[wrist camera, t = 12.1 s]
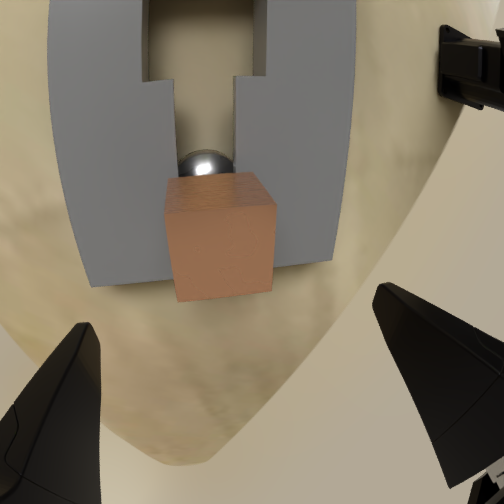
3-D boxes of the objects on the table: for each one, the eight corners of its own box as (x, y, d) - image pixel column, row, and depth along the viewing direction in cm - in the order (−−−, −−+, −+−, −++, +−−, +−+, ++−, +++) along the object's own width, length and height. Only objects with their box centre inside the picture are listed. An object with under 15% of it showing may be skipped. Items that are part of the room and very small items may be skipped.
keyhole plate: (69, -5, 10) (51, -17, 7) (331, -13, 13) (355, -23, 10) (99, 261, 19) (91, 287, 17) (315, 238, 22) (331, 260, 20)
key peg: (240, 147, 18) (282, 199, 11) (239, 211, 20) (275, 293, 13) (167, 152, 17) (157, 209, 10) (173, 218, 19) (173, 306, 12)
